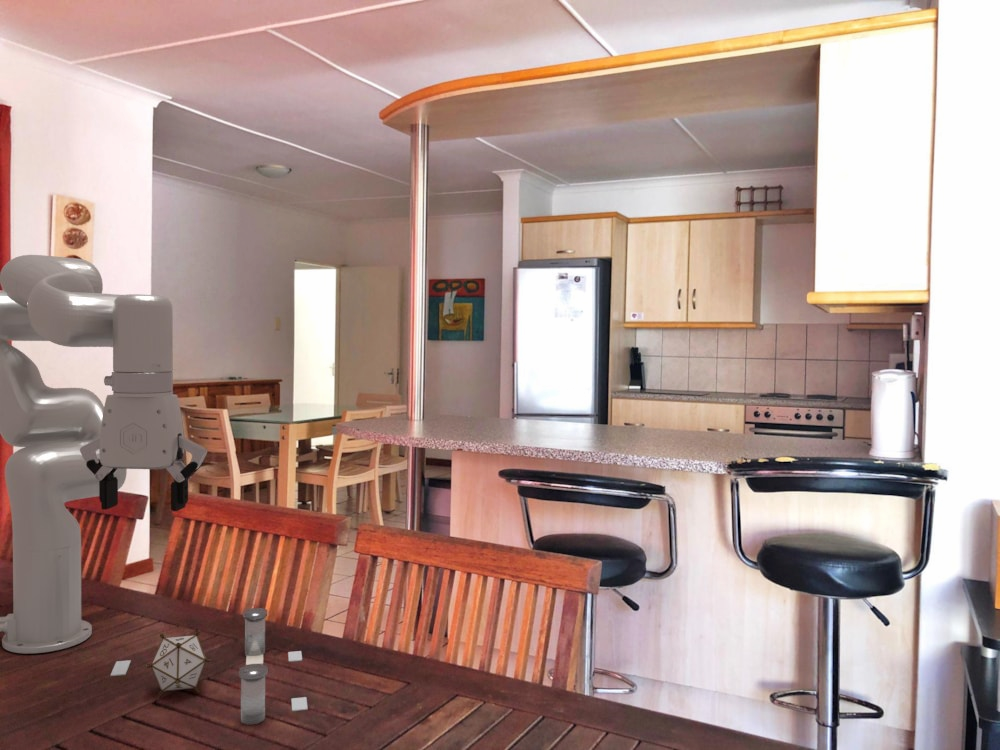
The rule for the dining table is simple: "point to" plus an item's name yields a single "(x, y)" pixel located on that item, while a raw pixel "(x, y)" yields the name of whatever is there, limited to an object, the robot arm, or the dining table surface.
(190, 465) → the robot arm
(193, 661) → the game die
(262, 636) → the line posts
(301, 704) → the distance lines
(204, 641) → the dining table surface
